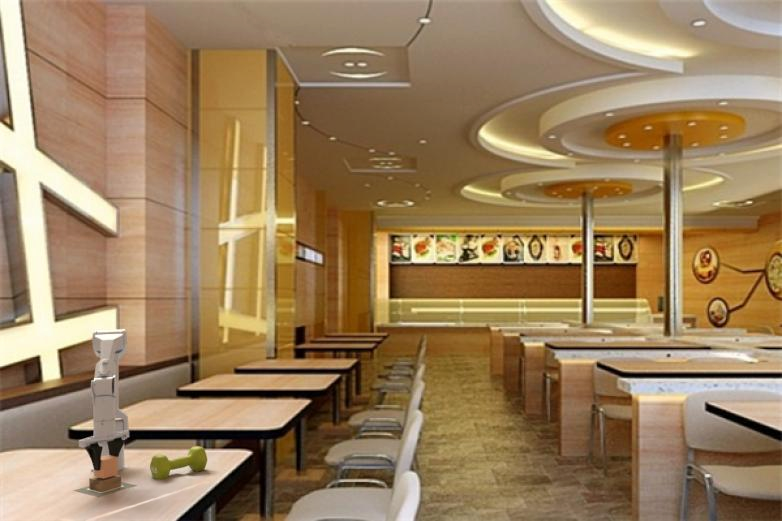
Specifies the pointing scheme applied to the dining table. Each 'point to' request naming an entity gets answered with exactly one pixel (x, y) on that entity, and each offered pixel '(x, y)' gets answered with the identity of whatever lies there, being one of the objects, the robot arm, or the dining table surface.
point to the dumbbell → (178, 462)
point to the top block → (107, 467)
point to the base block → (104, 483)
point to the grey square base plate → (98, 494)
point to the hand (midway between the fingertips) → (105, 467)
